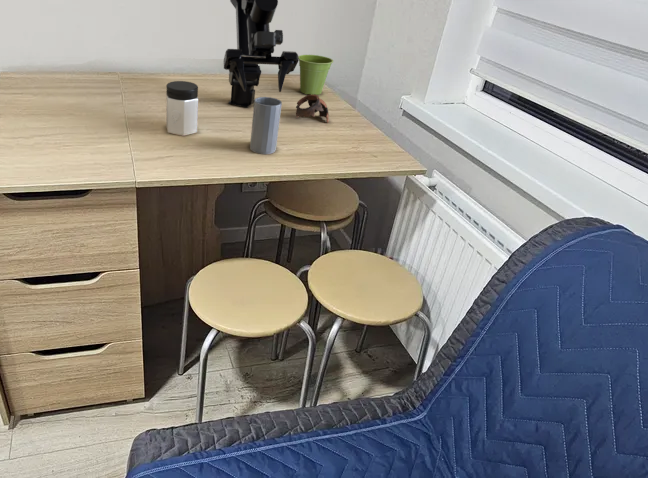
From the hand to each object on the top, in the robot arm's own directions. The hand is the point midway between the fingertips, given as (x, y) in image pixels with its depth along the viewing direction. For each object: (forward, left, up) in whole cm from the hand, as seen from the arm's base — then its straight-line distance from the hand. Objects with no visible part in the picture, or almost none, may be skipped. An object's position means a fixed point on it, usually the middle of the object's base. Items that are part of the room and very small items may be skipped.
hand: (262, 90), depth 132 cm
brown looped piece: (+8, +24, -13) cm, 29 cm away
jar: (-20, -6, -13) cm, 25 cm away
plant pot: (0, +49, -13) cm, 51 cm away
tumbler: (+4, -6, -13) cm, 15 cm away
